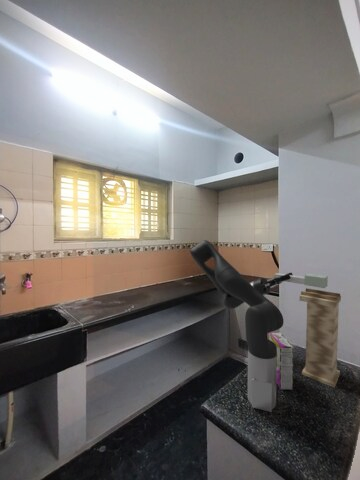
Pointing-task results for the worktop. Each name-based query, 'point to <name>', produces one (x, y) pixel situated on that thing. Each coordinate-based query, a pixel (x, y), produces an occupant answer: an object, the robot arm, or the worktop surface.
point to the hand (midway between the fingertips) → (290, 275)
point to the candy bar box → (283, 361)
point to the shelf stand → (321, 335)
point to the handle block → (307, 280)
